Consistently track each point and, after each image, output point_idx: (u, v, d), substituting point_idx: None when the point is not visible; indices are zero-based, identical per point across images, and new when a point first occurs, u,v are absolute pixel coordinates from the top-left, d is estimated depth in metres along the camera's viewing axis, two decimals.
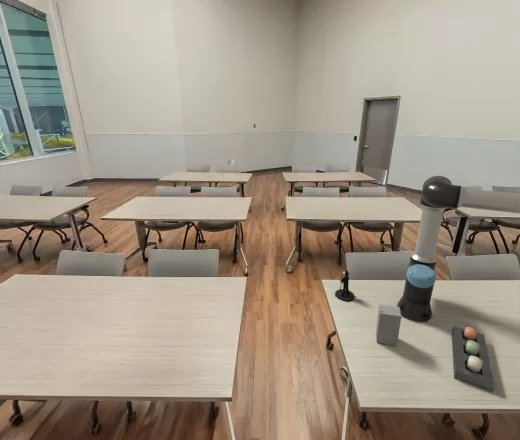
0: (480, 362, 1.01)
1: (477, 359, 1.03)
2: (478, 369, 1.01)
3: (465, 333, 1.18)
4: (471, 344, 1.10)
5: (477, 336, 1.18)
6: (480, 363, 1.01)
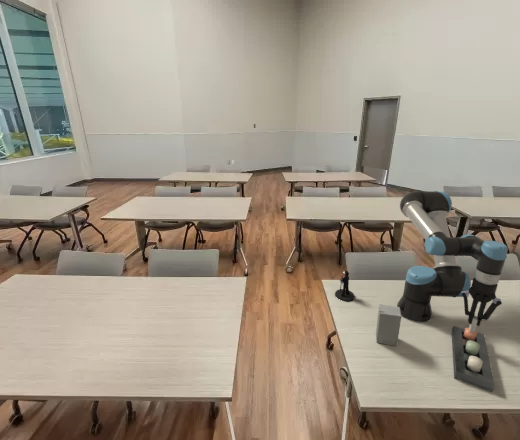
0: (480, 362, 1.01)
1: (477, 359, 1.03)
2: (478, 369, 1.01)
3: (465, 334, 1.18)
4: (471, 344, 1.10)
5: (477, 336, 1.18)
6: (480, 363, 1.01)
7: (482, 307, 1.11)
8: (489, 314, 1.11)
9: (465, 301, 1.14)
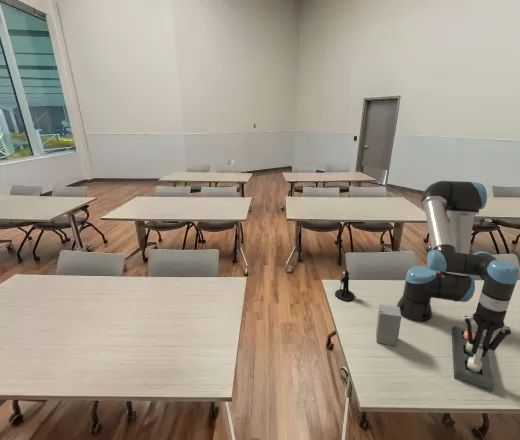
0: (480, 363, 1.02)
1: None
2: (478, 370, 1.02)
3: (464, 336, 1.18)
4: (471, 344, 1.10)
5: None
6: (480, 364, 1.01)
7: (488, 336, 0.97)
8: (496, 344, 0.96)
9: (469, 328, 0.99)
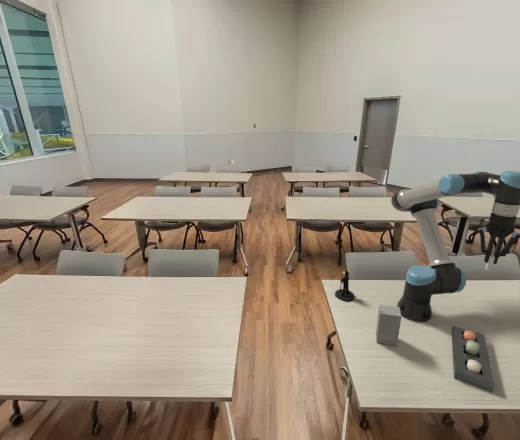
0: (479, 366, 1.02)
1: (476, 363, 1.03)
2: (477, 373, 1.02)
3: (464, 336, 1.18)
4: (471, 344, 1.10)
5: (477, 336, 1.18)
6: (479, 367, 1.02)
7: (500, 243, 1.08)
8: (507, 250, 1.07)
9: (482, 238, 1.10)
